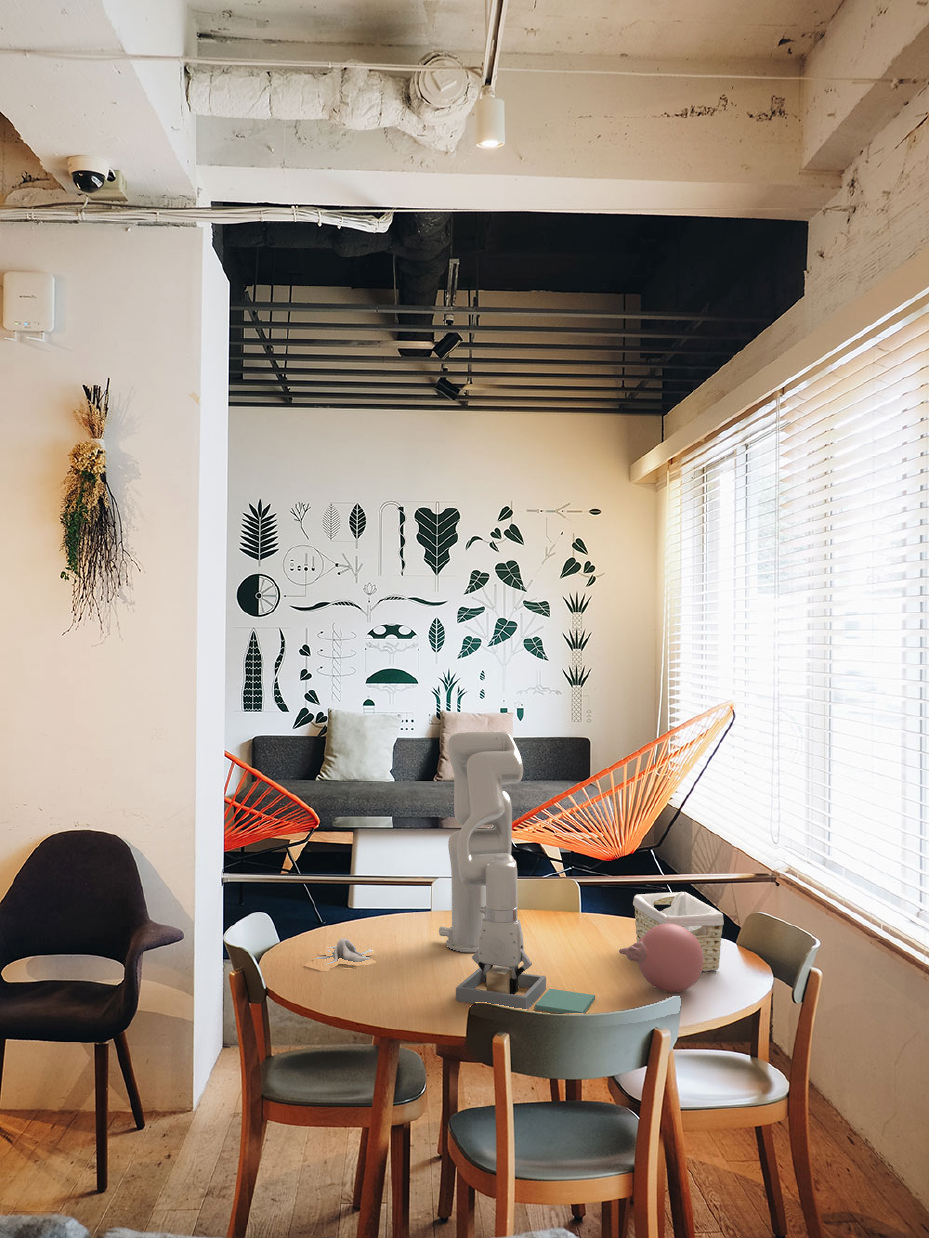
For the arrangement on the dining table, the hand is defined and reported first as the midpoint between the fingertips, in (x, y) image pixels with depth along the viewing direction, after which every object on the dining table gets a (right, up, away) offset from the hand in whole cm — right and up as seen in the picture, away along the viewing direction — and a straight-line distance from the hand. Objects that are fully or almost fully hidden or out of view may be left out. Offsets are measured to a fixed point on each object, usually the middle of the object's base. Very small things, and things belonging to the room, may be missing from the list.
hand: (501, 991), depth 215 cm
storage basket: (+47, -2, +25) cm, 53 cm away
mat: (+14, 0, -6) cm, 16 cm away
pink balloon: (+38, -1, +3) cm, 38 cm away
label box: (0, -1, 0) cm, 1 cm away
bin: (0, -1, 0) cm, 1 cm away
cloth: (-39, -3, +25) cm, 47 cm away
